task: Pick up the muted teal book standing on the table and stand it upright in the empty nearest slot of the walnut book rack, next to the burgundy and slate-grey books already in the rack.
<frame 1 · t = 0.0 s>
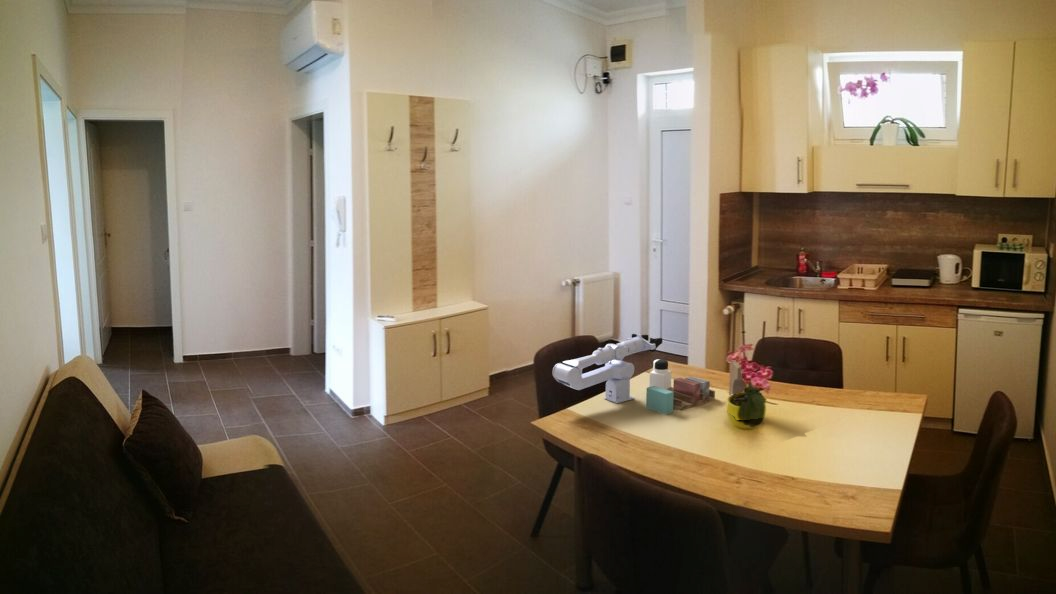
hand: (654, 338, 293), 22 cm above the table, tool horizontal, fingers open, 7 cm apart
teal book: (659, 410, 271), on the table
decorative block: (739, 416, 264), on the table
book rack: (685, 400, 282), on the table
medicine bottle: (660, 388, 299), on the table
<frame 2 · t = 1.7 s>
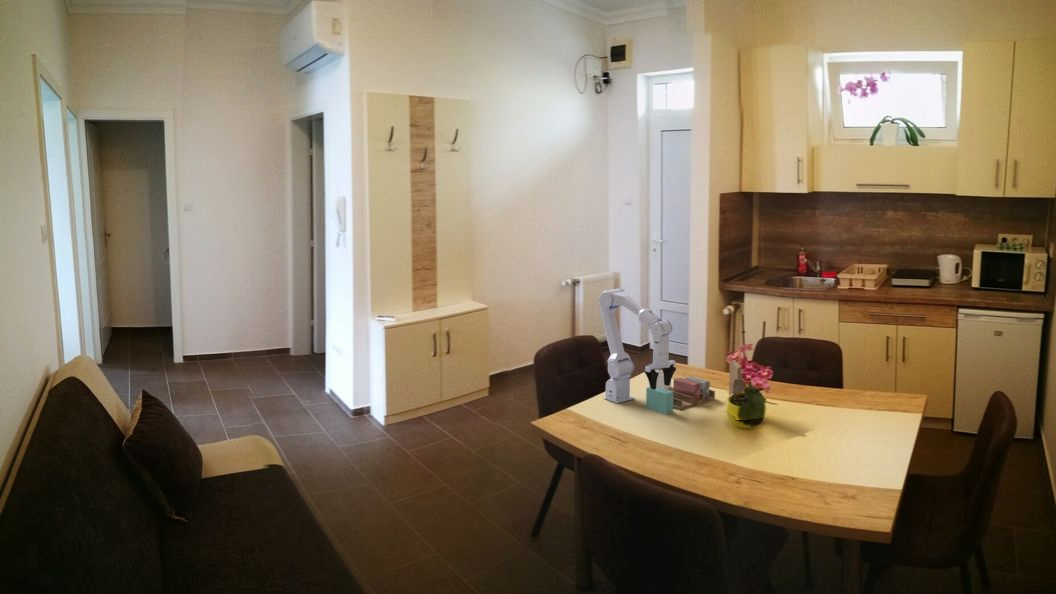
hand: (660, 387, 270), 9 cm above the table, tool pointing down, fingers open, 7 cm apart
nothing on the table moved.
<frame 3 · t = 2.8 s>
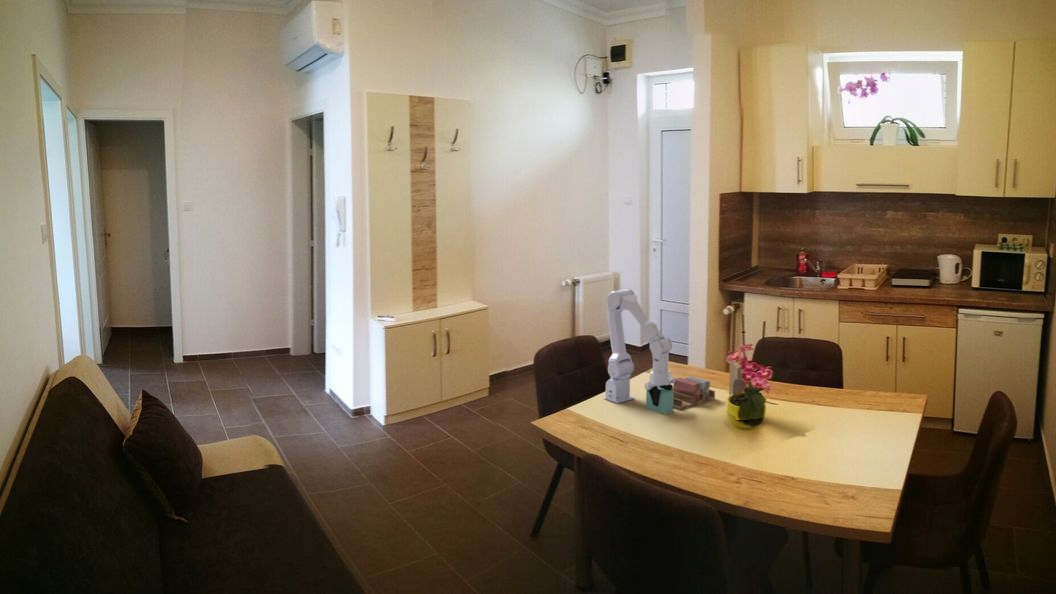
hand: (659, 404, 271), 2 cm above the table, tool pointing down, fingers closed on teal book, 4 cm apart
teal book: (659, 409, 271), on the table, touching gripper
everything else where it was.
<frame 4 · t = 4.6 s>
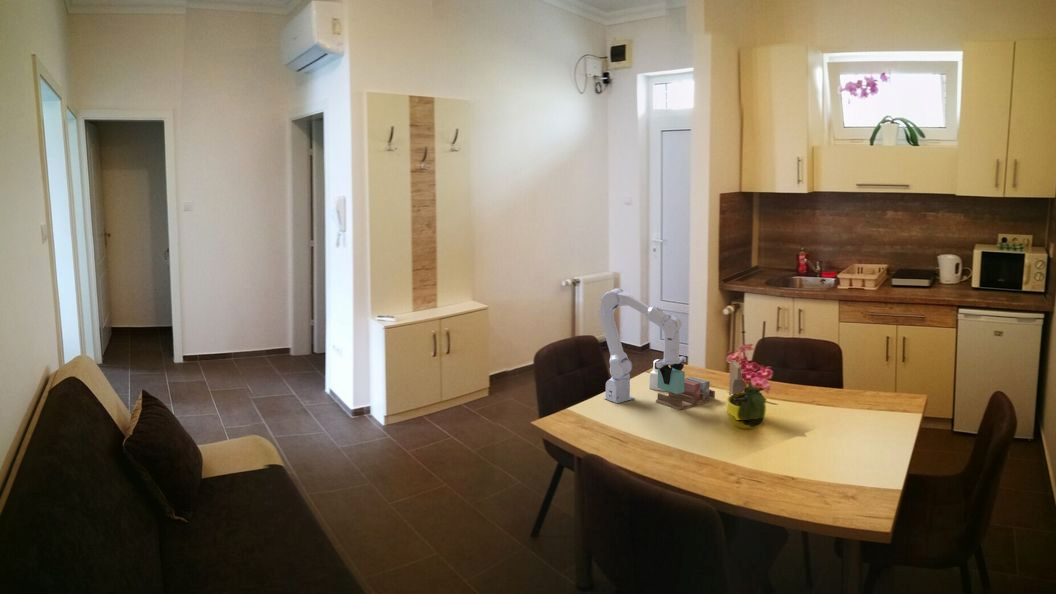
hand: (670, 382, 274), 9 cm above the table, tool pointing down, fingers closed on teal book, 4 cm apart
teal book: (670, 389, 275), point 7 cm above the table, touching gripper
everything else where it was.
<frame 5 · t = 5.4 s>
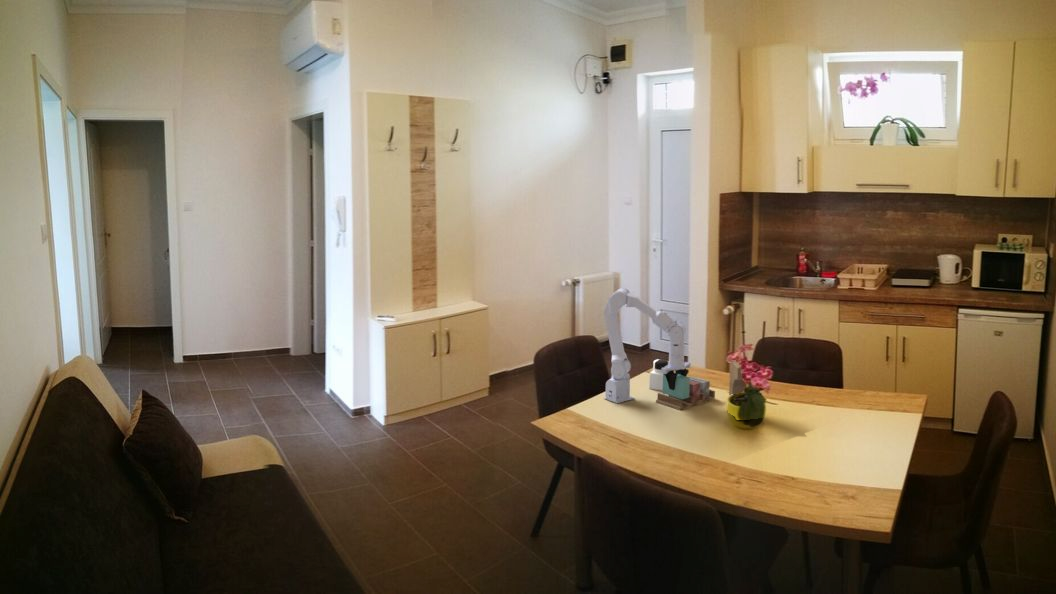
hand: (675, 388, 277), 6 cm above the table, tool pointing down, fingers closed on teal book, 4 cm apart
teal book: (675, 395, 277), point 4 cm above the table, touching gripper
everything else where it was.
when the fingers open (4 cm above the table, at t = 6.2 s): teal book stays where it is, resting on book rack.
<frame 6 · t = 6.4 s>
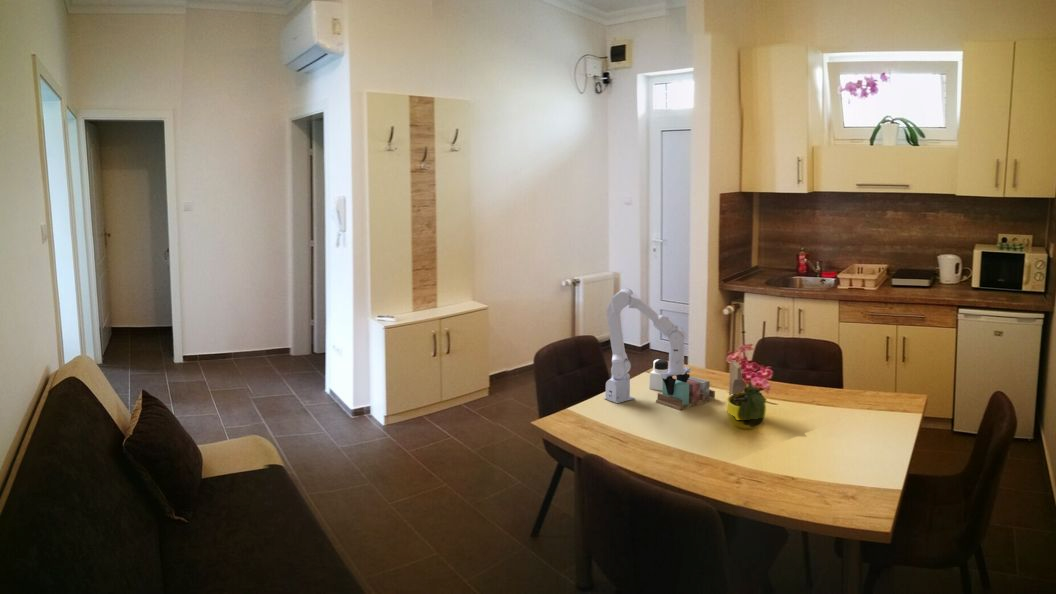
hand: (675, 393, 277), 4 cm above the table, tool pointing down, fingers open, 5 cm apart
teal book: (675, 401, 278), point 1 cm above the table, touching book rack
everything else where it was.
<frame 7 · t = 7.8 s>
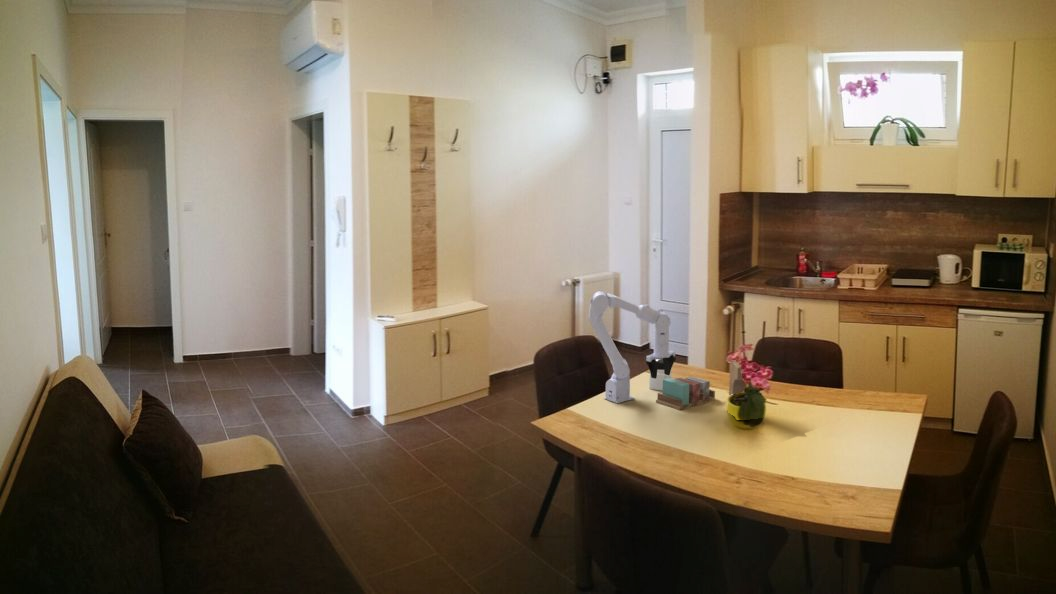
hand: (660, 376, 283), 9 cm above the table, tool pointing down, fingers open, 7 cm apart
nothing on the table moved.
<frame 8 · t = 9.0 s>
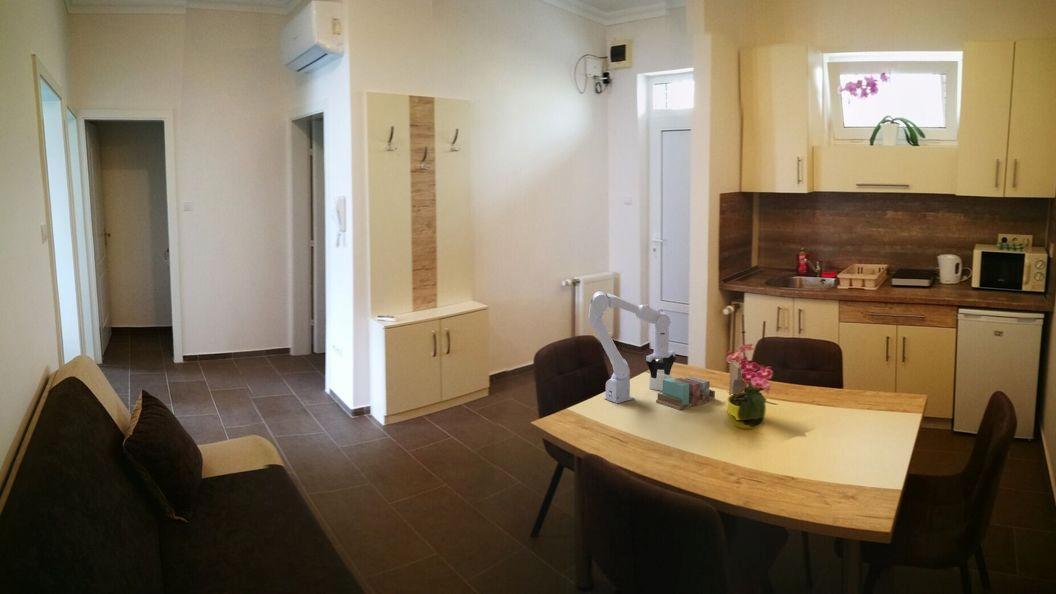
hand: (660, 376, 283), 9 cm above the table, tool pointing down, fingers open, 7 cm apart
nothing on the table moved.
at the end: teal book 0.1 cm from the target spot on the book rack, point 1.0 cm above the book rack's base; teal book tilted 0°; the gripper is holding nothing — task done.
